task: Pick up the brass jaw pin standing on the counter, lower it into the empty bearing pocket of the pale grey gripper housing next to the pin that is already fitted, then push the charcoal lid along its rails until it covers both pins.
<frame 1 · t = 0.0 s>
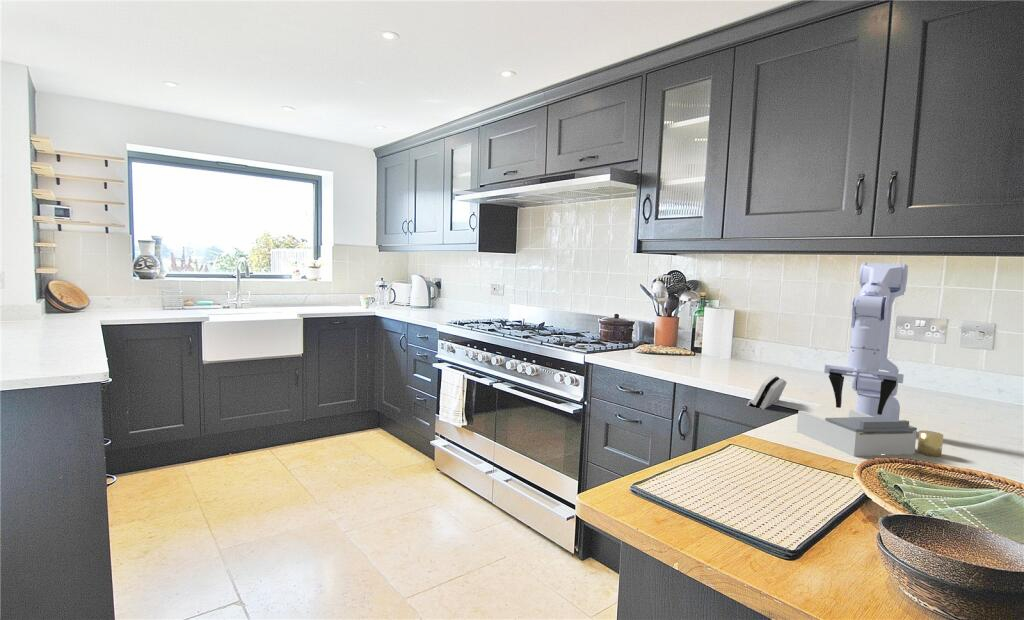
hand: (858, 410, 118), 11 cm above the counter, tool pointing down, fingers open, 7 cm apart
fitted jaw: (862, 439, 132), resting on housing
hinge: (767, 404, 167), on the counter
jaw pin: (928, 454, 123), on the counter
lid: (870, 420, 125), point 7 cm above the counter, slide at 0.0 cm
housing: (852, 442, 130), on the counter
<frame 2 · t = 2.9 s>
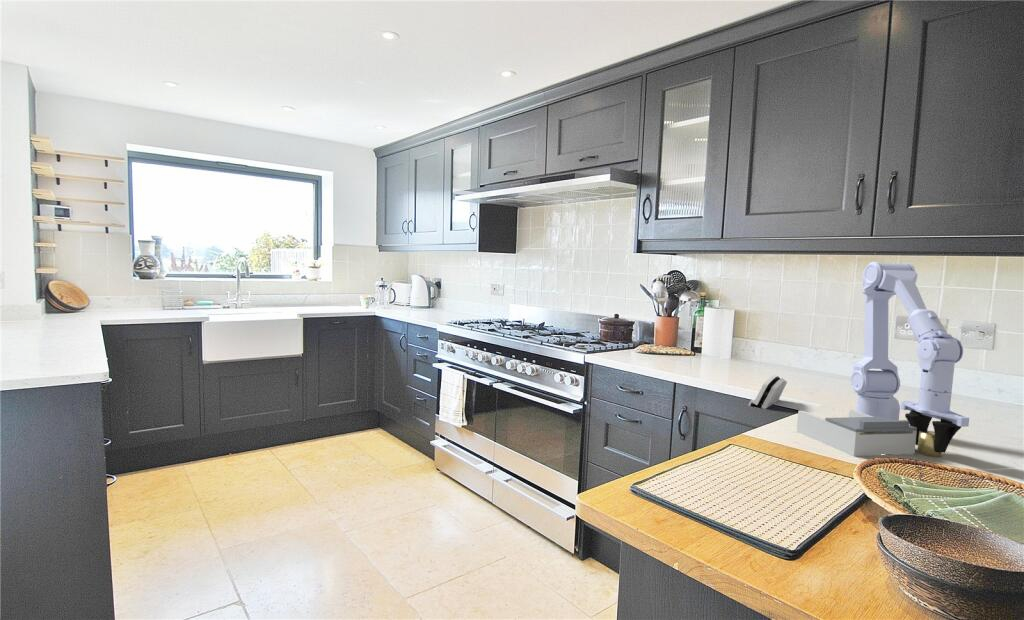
hand: (929, 448, 123), 1 cm above the counter, tool pointing down, fingers closed on jaw pin, 4 cm apart
jaw pin: (929, 454, 123), on the counter, touching gripper
when the fingers open (4 cm above the counter, at t = 6.5 s): jaw pin drops 2 cm, resting on housing.
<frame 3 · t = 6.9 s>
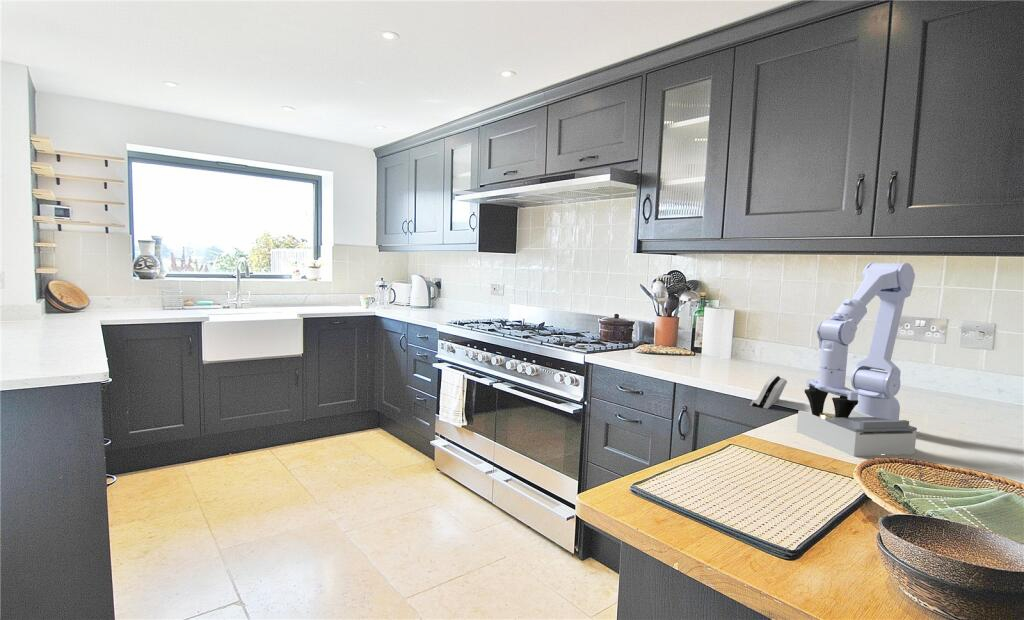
hand: (828, 421, 134), 4 cm above the counter, tool pointing down, fingers open, 7 cm apart
jaw pin: (827, 434, 135), resting on housing
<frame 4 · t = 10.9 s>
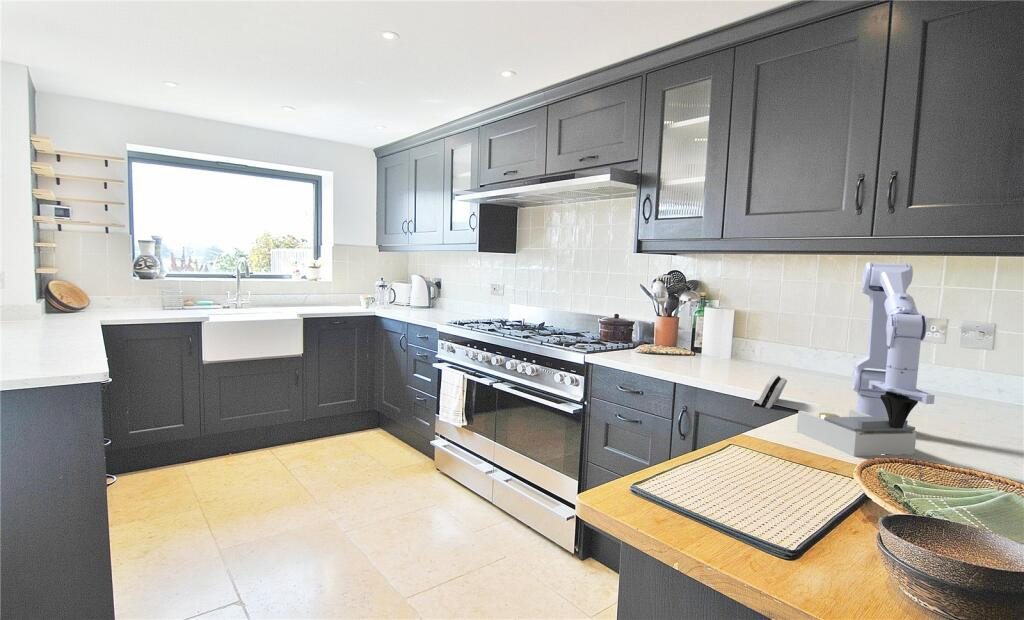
hand: (896, 427, 120), 7 cm above the counter, tool pointing down, fingers closed
lid: (868, 420, 125), point 7 cm above the counter, slide at 0.4 cm, touching gripper
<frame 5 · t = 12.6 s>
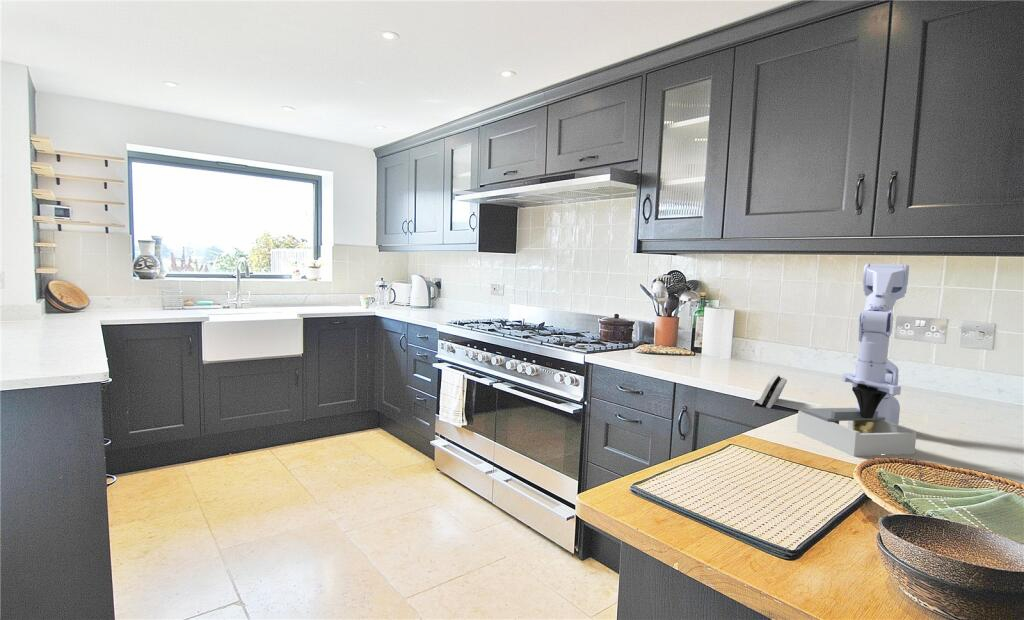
hand: (866, 417, 128), 7 cm above the counter, tool pointing down, fingers closed
lid: (842, 411, 133), point 7 cm above the counter, slide at 8.3 cm, touching gripper
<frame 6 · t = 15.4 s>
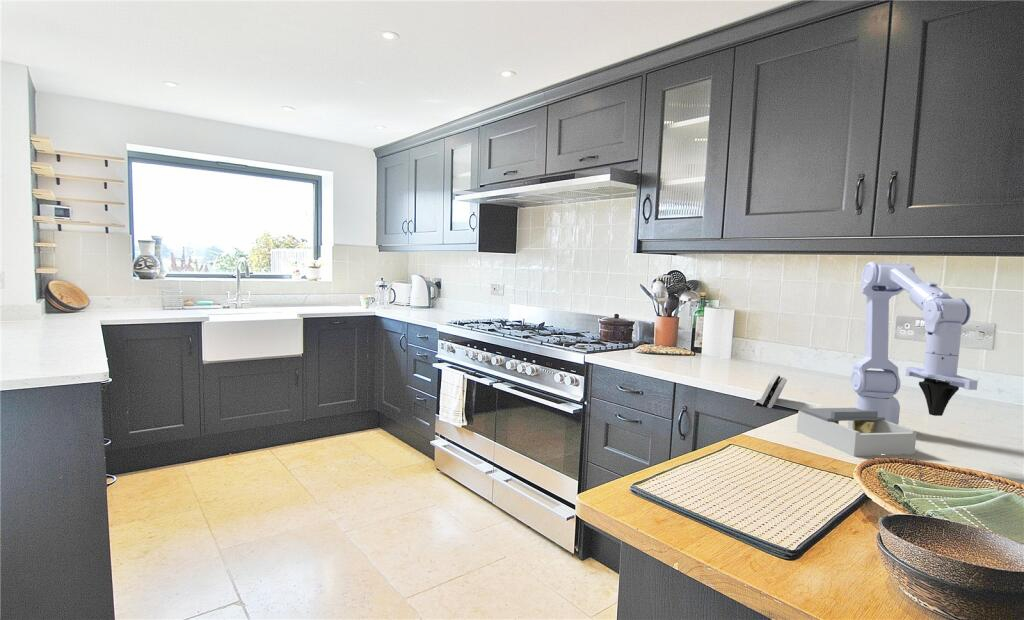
hand: (935, 415, 118), 10 cm above the counter, tool pointing down, fingers closed
lid: (841, 411, 133), point 7 cm above the counter, slide at 8.4 cm
at the end: jaw pin 0.3 cm from the target spot on the housing, point 0.3 cm above the housing's base; jaw pin tilted 2°; lid slide at 8.4 cm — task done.
